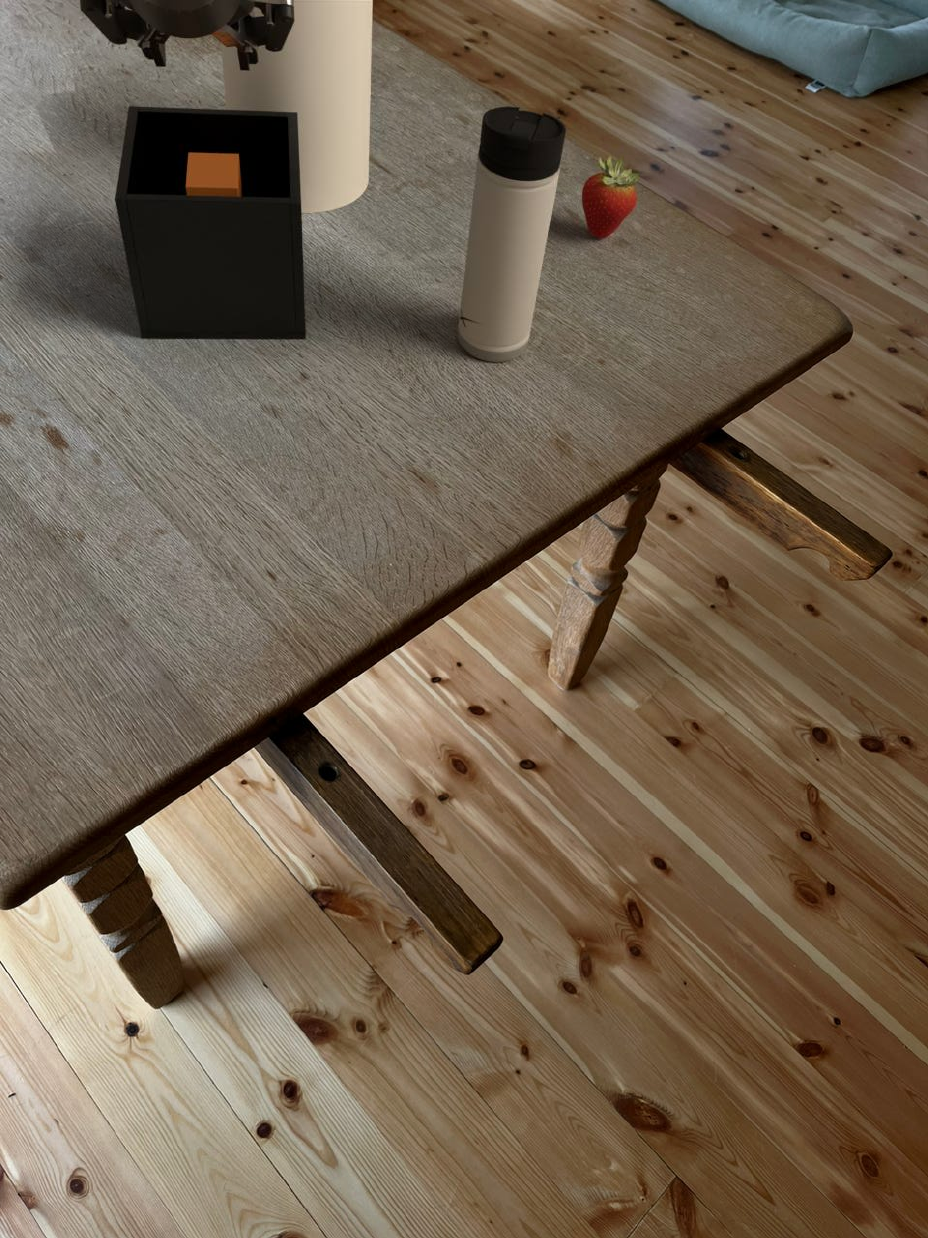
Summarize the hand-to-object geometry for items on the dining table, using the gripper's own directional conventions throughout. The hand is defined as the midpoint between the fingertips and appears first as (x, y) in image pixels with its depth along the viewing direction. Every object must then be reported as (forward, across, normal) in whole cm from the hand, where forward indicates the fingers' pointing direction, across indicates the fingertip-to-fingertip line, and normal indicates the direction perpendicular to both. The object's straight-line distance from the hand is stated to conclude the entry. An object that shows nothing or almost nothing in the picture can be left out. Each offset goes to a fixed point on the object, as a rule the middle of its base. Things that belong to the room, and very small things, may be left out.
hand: (203, 54), depth 75 cm
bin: (+12, 0, -15) cm, 19 cm away
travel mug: (+7, +23, -20) cm, 31 cm away
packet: (+10, 0, -13) cm, 16 cm away
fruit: (+19, +36, -9) cm, 42 cm away
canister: (+26, +7, -2) cm, 27 cm away
